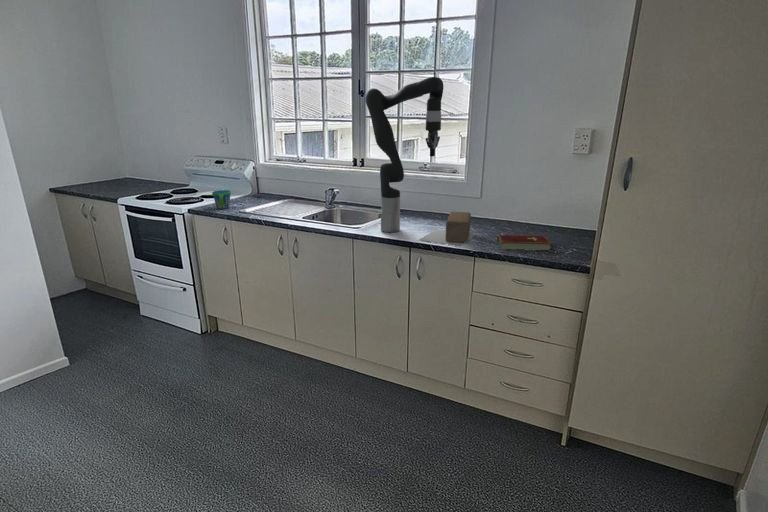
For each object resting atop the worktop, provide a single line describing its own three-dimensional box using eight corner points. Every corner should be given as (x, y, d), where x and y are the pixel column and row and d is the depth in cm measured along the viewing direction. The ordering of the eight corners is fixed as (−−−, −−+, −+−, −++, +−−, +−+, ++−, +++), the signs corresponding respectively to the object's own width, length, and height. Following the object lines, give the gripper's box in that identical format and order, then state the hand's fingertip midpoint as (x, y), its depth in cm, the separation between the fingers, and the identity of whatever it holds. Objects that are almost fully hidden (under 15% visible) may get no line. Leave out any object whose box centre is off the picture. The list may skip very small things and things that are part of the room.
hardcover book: (496, 242, 209) (497, 234, 208) (543, 243, 207) (544, 235, 206) (501, 250, 198) (501, 241, 196) (550, 252, 196) (551, 242, 195)
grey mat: (459, 246, 202) (459, 246, 202) (418, 240, 211) (418, 239, 211) (474, 235, 219) (474, 234, 219) (436, 230, 228) (436, 229, 228)
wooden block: (469, 231, 223) (467, 243, 205) (449, 230, 226) (445, 242, 207) (471, 212, 220) (468, 222, 202) (450, 211, 222) (446, 221, 204)
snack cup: (230, 210, 270) (228, 193, 267) (212, 211, 268) (209, 194, 265) (234, 205, 284) (232, 189, 281) (216, 205, 283) (214, 189, 279)
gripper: (431, 119, 231) (430, 154, 237) (420, 120, 220) (420, 157, 226) (445, 120, 228) (444, 155, 233) (435, 121, 217) (434, 158, 222)
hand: (432, 156), depth 229 cm, fingers closed
